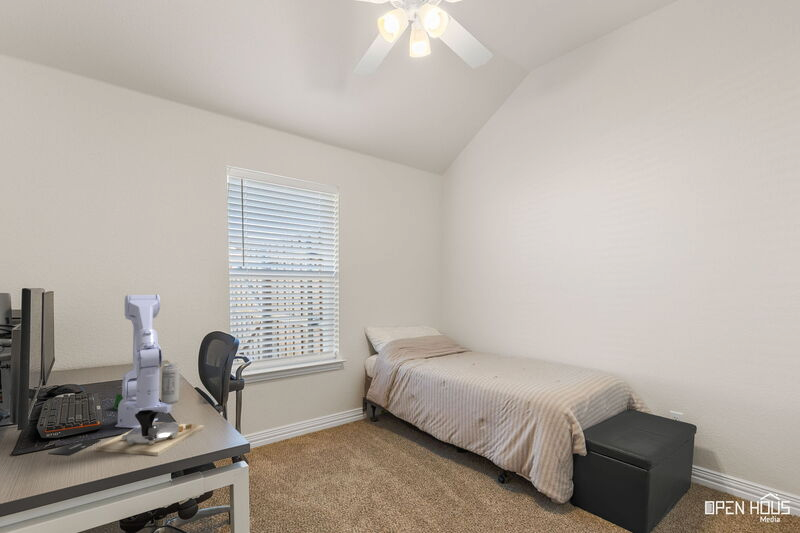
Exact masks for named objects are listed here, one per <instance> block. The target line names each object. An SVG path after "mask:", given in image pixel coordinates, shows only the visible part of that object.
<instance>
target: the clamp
mask: <svg viewBox="0 0 800 533" xmlns="http://www.w3.org/2000/svg"><path fill="white" fill-rule="evenodd" d="M122 399H123V397H122V393H117V394H116V395H115V401H114V410H116V411H118V406H119V403H120V401H121V400H122Z"/></svg>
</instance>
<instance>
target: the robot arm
mask: <svg viewBox="0 0 800 533" xmlns="http://www.w3.org/2000/svg"><path fill="white" fill-rule="evenodd" d="M160 309H161V296H160V295H159V294H158V293H156V294H126V295H125V296H124V317H125V320H126V319H127V320H130V321H131V324H132V328H133V331H132V332H133V334H132V335H133V336H132V342H133V343H132V368H131V369H130V370H129V371H127V372H126V373H124V374H123V376H122V382H121V384H122V385H121V394H122V397H123V399H122V400H121V401H120V403H119V406H118V410H117V424H116V425H115V427H116V428H127V429H128V428H131V429H133V428H136V427H139V426H141V432H142V436H144V437H146V436H148V426H151V425H152V423H153V422H158V421H159V418H156V417H157V415H158V414H159V413H164V414H169V413H171V412H173V404H166V403H163V402H162V401H160V376H161V375H160V368H161V367H162V364H163V352H162V348H161V345H160V344H159V338H158V336H159V335H158V332H157V330H156V329H154V328H153V321H154V320H153V319H156V318H157V316H158V315H159V312H160Z"/></svg>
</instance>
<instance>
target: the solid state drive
mask: <svg viewBox="0 0 800 533" xmlns="http://www.w3.org/2000/svg"><path fill="white" fill-rule="evenodd" d="M85 439H86V440H83V441H79V442H76V443H73V444H70V443H68V444H69V445H67V444H66V445H63V446H60V447H59V448H56V449H54V450H51V451H50V452H48V455H55V456H72V455H74V454H76V453H78V452H80V451H82V450H84V449H87V448H89V447H91V446H94V445H95V443H96V444H97V443H100V442H101V441H102V440H101V439H95V438H93V439H92V440H91V438H85ZM87 439H89V440H87ZM99 441H100V442H99ZM93 444H94V445H93Z"/></svg>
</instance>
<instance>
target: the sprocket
mask: <svg viewBox="0 0 800 533" xmlns="http://www.w3.org/2000/svg"><path fill="white" fill-rule="evenodd" d="M155 422H156V423H153V424H152V425H151V426H148V436H146V437H144V436H142V432H141V427H139V428H137V427H136V428H131V430H132V431H131V430H129V431H130V432H129V431H128V432H129V433H128V434H127V435H123V436H122V440H126V441H127V442H128V444H127V445H133V444H149V445H151V444H155V442H159V441H163V440H166V439H169V438H175V437H176V434H178V433H179V431H183V426H179V425H178V424H179V423H178V422H176V421H172V422H163V423H158V422H159V421H155ZM177 423H178V424H177Z"/></svg>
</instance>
